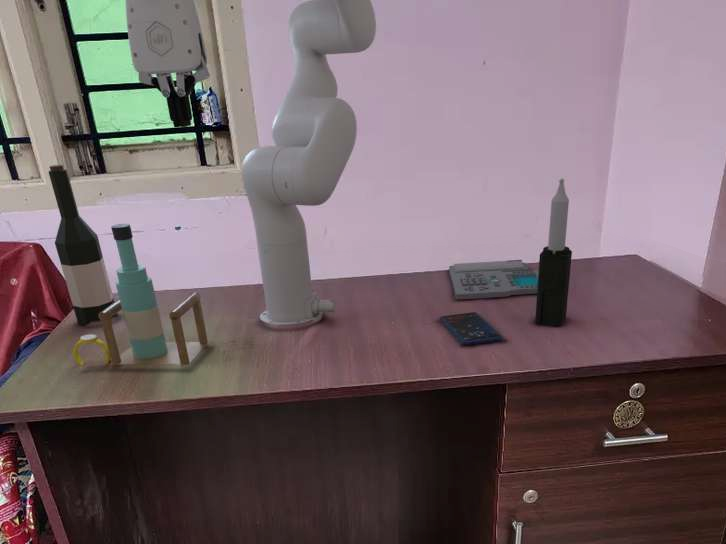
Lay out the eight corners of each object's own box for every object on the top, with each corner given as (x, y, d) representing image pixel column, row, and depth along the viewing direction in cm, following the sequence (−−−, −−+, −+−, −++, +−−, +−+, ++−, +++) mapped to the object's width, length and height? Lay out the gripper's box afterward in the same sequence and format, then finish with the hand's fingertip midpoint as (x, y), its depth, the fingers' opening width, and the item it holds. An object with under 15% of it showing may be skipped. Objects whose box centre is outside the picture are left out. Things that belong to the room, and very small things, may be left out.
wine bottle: (106, 327, 146) (63, 168, 130) (70, 327, 148) (23, 169, 132) (126, 314, 153) (87, 161, 137) (91, 314, 155) (49, 163, 139)
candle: (566, 318, 136) (580, 176, 122) (560, 327, 132) (573, 181, 119) (540, 316, 138) (550, 175, 124) (533, 324, 134) (543, 180, 121)
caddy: (210, 347, 133) (200, 291, 128) (189, 370, 124) (177, 311, 119) (137, 347, 136) (124, 292, 130) (111, 370, 126) (95, 312, 121)
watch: (77, 373, 126) (67, 340, 123) (81, 367, 129) (72, 335, 125) (111, 370, 126) (102, 338, 123) (115, 364, 129) (106, 332, 125)
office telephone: (448, 259, 167) (534, 255, 166) (448, 271, 168) (533, 266, 168) (456, 287, 147) (553, 282, 146) (456, 300, 149) (552, 295, 148)
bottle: (208, 325, 128) (131, 214, 119) (196, 337, 123) (115, 222, 114) (151, 358, 134) (73, 254, 125) (137, 371, 129) (55, 263, 120)
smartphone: (475, 311, 139) (503, 336, 127) (475, 315, 140) (503, 341, 127) (438, 316, 138) (462, 342, 126) (438, 320, 139) (462, 346, 126)
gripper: (94, -19, 98) (126, 131, 108) (197, -27, 96) (221, 126, 106) (118, -16, 104) (147, 126, 114) (216, -24, 102) (236, 121, 112)
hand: (182, 126), depth 110 cm, fingers closed
